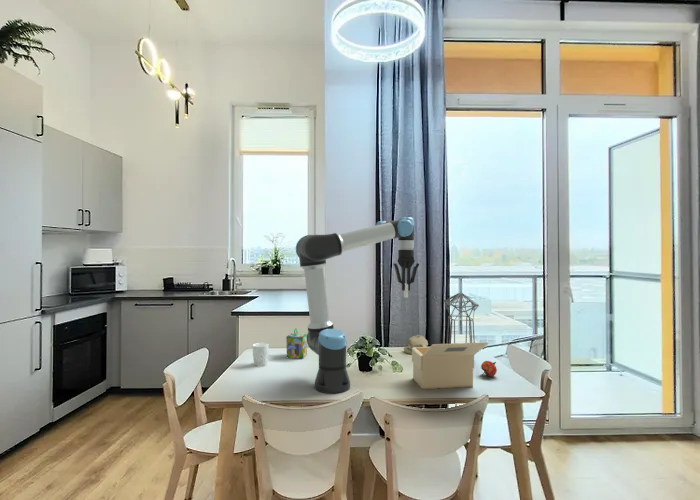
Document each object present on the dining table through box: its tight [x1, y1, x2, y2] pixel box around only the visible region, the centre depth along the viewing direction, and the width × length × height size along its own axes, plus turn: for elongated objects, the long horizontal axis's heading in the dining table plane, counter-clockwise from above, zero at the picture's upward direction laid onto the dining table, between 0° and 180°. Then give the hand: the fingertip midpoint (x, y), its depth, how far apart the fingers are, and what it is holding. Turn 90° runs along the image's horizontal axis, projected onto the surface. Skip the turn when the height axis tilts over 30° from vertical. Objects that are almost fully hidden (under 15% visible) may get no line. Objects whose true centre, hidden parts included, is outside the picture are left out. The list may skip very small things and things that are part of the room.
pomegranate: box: [479, 360, 498, 378], centre depth 189 cm, size 7×7×10 cm
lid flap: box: [423, 342, 489, 356], centre depth 166 cm, size 22×15×1 cm, turn 97°
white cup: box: [252, 342, 270, 367], centre depth 207 cm, size 8×8×10 cm
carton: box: [411, 346, 475, 390], centre depth 180 cm, size 23×14×14 cm, turn 97°
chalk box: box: [285, 328, 308, 359], centre depth 222 cm, size 9×9×15 cm
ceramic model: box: [403, 334, 429, 355], centre depth 231 cm, size 14×11×10 cm
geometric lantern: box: [442, 292, 480, 344], centre depth 217 cm, size 16×16×35 cm
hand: (405, 297), depth 202 cm, fingers closed
